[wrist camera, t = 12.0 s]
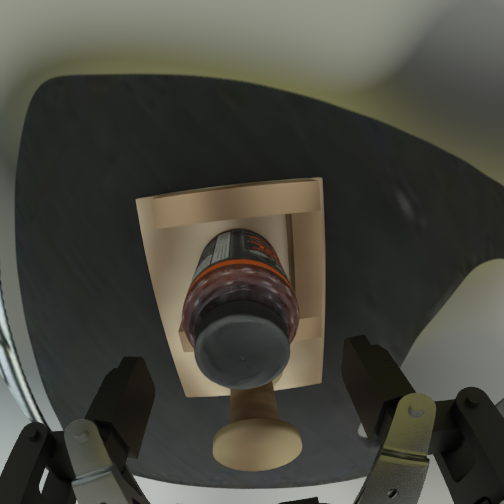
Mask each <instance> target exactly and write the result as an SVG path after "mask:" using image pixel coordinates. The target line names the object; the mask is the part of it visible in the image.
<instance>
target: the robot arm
mask: <svg viewBox="0 0 504 504" xmlns="http://www.w3.org/2000/svg"><path fill="white" fill-rule="evenodd" d="M342 377H343V381H344V383H345V386H346V388H347V390H348V392H349V395H350V397H351V399H352V402H353V404H354V406H355V409H356V411H357V413H358V416H359V418H360V420H361V423H362V425H363V427H364V430H365V432H366V434H367V437H368V439H369V441H372V440H375V439H379V440H380V442H381V446H380V448H379V451H378V453H377V456H376V458H375V460H374V463H373V465H372V467H371V469H370V472H369V474H368V476H367V478H366V480H365V482H364V484H363V486H362V488H361V490H360V492H359V494H358V495H357V497H356V499H355V501H354V503H353V504H417V502H418V499H419V497H420V493H421V491H422V488H423V484H424V481H425V478H426V474H427V471H428V467H429V459H428V458H427V455H430V454H433V455H434V457H435V459H436V462H437V464H438V466H439V468H440V471H441V473H442V475H443V477H444V480H445V482H446V485H447V487H448V489H449V492H450V494H451V496H452V499H453V501H454V504H504V418H503V417H502V415H501V414H500V412H499V411H498V410H497V408H496V407H495V405H494V404H493V403H492V401H491V400H490V398H489V397H488V396H487V394H486V393H485V392H484V391H483V390H481V389H479V388H476V387H467V388H464V389H462V390H461V391H460V392H459V393H458V395H457V397H456V399H453V400H446V401H433V399H432V398H430V397H429V396H427V395H425V394H422V393H416V392H415V390H414V389H413V387H412V386H411V384H410V383H409V381H408V380H407V378H406V377H405V376H404V374H403V373H402V371H401V370H400V368H398V365H397V364H396V362H395V361H393V358H392V357H391V355H390V354H389V352H388V351H387V350H385V349H384V348H382V347H381V346H379V345H378V344H377V345H373V346H372V345H371V344H370V342H369V341H368V339H367V338H366V336H365V335H360V336H355V337H350V338H346V339H345V341H344V350H343V359H342ZM154 398H155V387H154V383H153V381H152V378H151V376H150V373H149V371H148V368H147V366H146V363H145V361H144V359H143V358H142V357H124V358H123V359H122V361H121V363H120V365H119V367H118V368H114V369H113V370H112V371H110V372H109V373H108V374H107V375H106V376H105V378H104V380H103V382H102V384H101V386H100V388H99V390H98V394H96V396H95V398H94V400H93V402H92V404H91V406H90V408H89V410H88V412H87V414H86V416H85V418H84V419H80V420H76V421H74V422H72V423H71V424H70V425H69V426H68V427H67V428H66V430H65V431H54V432H53V431H52V432H49V430H48V429H47V428H46V427H45V425H43V424H42V423H40V422H32V423H30V424H28V425H26V426H25V427H24V428H23V430H22V431H21V433H20V435H19V437H18V439H17V441H16V443H15V445H14V447H13V449H12V452H11V453H10V456H9V458H8V460H7V462H6V464H5V467H4V469H3V471H2V474H1V476H0V504H75V503H76V500H77V501H78V504H150V502H149V501H148V500H147V499H146V497H145V495H144V494H143V492H142V491H141V489H140V487H139V485H138V484H137V482H136V481H135V479H134V477H133V475H132V473H131V472H130V470H129V468H128V466H127V465H126V459H127V457H130V458H137V459H138V455H139V451H140V447H141V444H142V440H143V436H144V433H145V429H146V426H147V422H148V419H149V415H150V412H151V408H152V405H153V402H154ZM45 468H46V469H47V470H49V473H48V476H47V478H46V481H45V484H44V487H43V490H42V493H40V491H39V483H40V480H41V477H42V475H43V472H44V469H45ZM279 504H327V503H319V501H318V497H314V498H308V499H302V500H296V501H289V502H282V503H279Z"/></svg>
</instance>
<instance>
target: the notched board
mask: <svg viewBox="0 0 504 504" xmlns="http://www.w3.org/2000/svg"><path fill="white" fill-rule="evenodd" d="M136 205H137V211H138V217H139V222H140V228H141V233H142V239H143V244H144V249H145V254H146V258H147V263H148V267H149V272H150V276H151V281H152V285H153V289H154V293H155V297H156V301H157V305H158V308H159V312H160V316H161V319H162V323H163V327H164V330H165V334H166V337H167V340H168V344H169V347H170V350H171V353H172V356H173V360H174V363H175V366H176V369H177V372H178V375H179V378H180V380H181V383H182V386H183V389H184V392H185V394H186V397H207V396H224V395H230V389H229V388H226V387H223V386H220V385H218V384H217V383H214V382H212V381H211V380H209V379H208V378H207V377H206V376H204V374H203V373H202V372H201V371H200V369H199V367H198V366H197V363H196V360H195V356H194V348H193V347H192V345H191V344H190V342H189V341H188V339H187V337H186V335H185V332H184V329H183V323H182V311H183V305H184V301H185V297H186V295H187V292H188V289H189V286H190V284H191V281H192V278H193V275H194V273H195V270H196V267H197V265H198V262H199V259H200V256H201V254H202V252H203V250H204V248H205V247H206V245H207V244H208V243H209V241H210V240H211V239H212V238H214V237H215V236H216V235H218V234H220V233H222V232H224V231H227V230H231V229H246V230H250V231H253V232H256V233H258V234H260V235H261V236H263V237H264V238H265V239H266V240H267V241H268V242H269V243H270V244H271V245H272V247H273V248H274V250H275V252H276V254H277V256H278V258H279V260H280V263H281V265H282V267H283V269H284V271H285V274H286V276H287V277H288V280H289V282H290V284H291V286H292V288H293V291H294V294H295V296H296V299H297V302H298V307H299V327H298V330H297V333H296V336H295V338H294V339H293V341H292V343H291V344H290V358H289V361H288V364H287V366H286V367H285V369H284V370H283V374H282V376H281V378H280V380H279V381H278V382H277V383H276V384H275V385H274V386H273V388H274V390H281V389H288V388H295V387H301V386H307V385H312V384H318V383H321V381H322V366H323V349H324V326H325V224H324V201H323V183H322V178H319V177H315V178H299V179H286V180H273V181H262V182H252V183H242V184H233V185H224V186H216V187H208V188H200V189H193V190H186V191H179V192H172V193H166V194H160V195H154V196H148V197H142V198H138V199H136Z"/></svg>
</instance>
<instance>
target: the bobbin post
mask: <svg viewBox="0 0 504 504" xmlns="http://www.w3.org/2000/svg"><path fill="white" fill-rule="evenodd" d="M282 374H283V372H282V373H281V374H280V375H279V376H277V377H276V378H275V379H274V380H272V381H271V382H269V383H267V384H265V385H262V386H260V387H256V388H251V389H232V388H229V389H230V423H231V424H229V425H227V426H225V427H223V428H222V429H220V430H219V431H218V432H217V433H216V434H215V436H214V439H213V455H214V457H215V459H216V460H217V461H218V462H219V463H221V464H222V465H224V466H227V467H229V468H232V469H236V470H243V471H263V470H269V469H273V468H277V467H280V466H283V465H285V464H287V463H289V462H291V461H292V460H294V459H295V458H296V457H297V456H298V455H299V454H300V452H301V450H302V443H301V438H300V434H299V431H298V430H297V428H296V427H294V426H293V425H292V424H290V423H288V422H285V421H282V420H279V416H278V410H277V405H276V399H275V393H274V388H273V386H274V385H275V384H276V383H277V382H278V381H279V380H280V378H281V376H282Z"/></svg>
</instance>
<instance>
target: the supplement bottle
mask: <svg viewBox="0 0 504 504" xmlns="http://www.w3.org/2000/svg"><path fill="white" fill-rule="evenodd" d="M182 323H183V329H184V332H185V335H186V337H187V339H188V341H189V342H190V344H191V345H192V347H193V348H194V356H195V360H196V363H197V366H198V367H199V369H200V371H201V372H202V373H203V374H204V376H206V377H207V378H208V379H209V380H211V381H212V382H214V383H217V384H218V385H220V386H223V387H226V388H232V389H251V388H256V387H260V386H262V385H265V384H267V383H269V382H271V381H272V380H274V379H275V378H276V377H277V376H279V375H280V374H281V373H282V372H283V370H284V369H285V367H286V366H287V364H288V361H289V358H290V344H291V343H292V341H293V339H294V338H295V336H296V333H297V330H298V327H299V307H298V302H297V299H296V296H295V294H294V291H293V288H292V286H291V284H290V282H289V280H288V277H287V276H286V274H285V271H284V269H283V267H282V265H281V263H280V260H279V258H278V256H277V254H276V252H275V250H274V248H273V247H272V245H271V244H270V243H269V242H268V241H267V240H266V239H265V238H264V237H263V236H261V235H260V234H258V233H256V232H253V231H250V230H246V229H231V230H227V231H224V232H222V233H220V234H218V235H216V236H215V237H214V238H212V239H211V240H210V241H209V243H208V244H207V245H206V247H205V248H204V250H203V252H202V254H201V256H200V259H199V262H198V265H197V267H196V270H195V273H194V275H193V278H192V281H191V284H190V286H189V289H188V292H187V295H186V297H185V301H184V305H183V311H182Z"/></svg>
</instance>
